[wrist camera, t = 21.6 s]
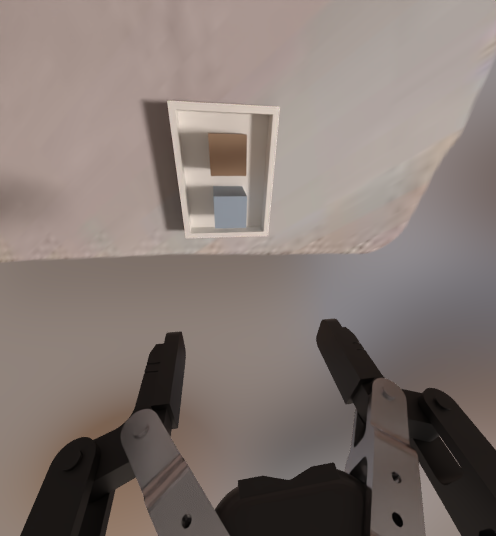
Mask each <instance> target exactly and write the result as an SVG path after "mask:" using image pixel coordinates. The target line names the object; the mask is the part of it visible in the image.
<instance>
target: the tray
mask: <svg viewBox="0 0 496 536" xmlns="http://www.w3.org/2000/svg"><path fill="white" fill-rule="evenodd" d="M167 104H168V112H169V119H170V126H171V134H172V141H173V148H174V156H175V163H176V170H177V178H178V185H179V192H180V200H181V207H182V214H183V221H184V229H185V236H186V238H213V237H248V236H268V230H269V219H270V209H271V198H272V187H273V176H274V166H275V155H276V144H277V133H278V123H279V112H280V107H273V106H255V105H238V104H220V103H202V102H185V101H167ZM208 133H242V134H247V166H246V176H211V172H210V157H209V143H208ZM213 186H242V187H243V189H244V191H245V193H246V195H247V218H246V228H216V229H215V217H214V198H213Z"/></svg>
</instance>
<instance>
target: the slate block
mask: <svg viewBox="0 0 496 536" xmlns="http://www.w3.org/2000/svg"><path fill="white" fill-rule="evenodd" d="M213 198H214V217H215V229H216V228H246V218H247V195H246V193H245V191H244V189H243V187H242V186H213Z"/></svg>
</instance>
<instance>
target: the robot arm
mask: <svg viewBox="0 0 496 536" xmlns="http://www.w3.org/2000/svg"><path fill="white" fill-rule="evenodd" d="M316 341H317V345H318V348H319V350H320V352H321V354H322V356H323V358H324V360H325V363H326V364H327V367H328V369H329V371H330V373H331V375H332V377H333V379H334V381H335V383H336V385H337V387H338V389H339V391H340V393H341V395H342V398H343V400H344V402H345V404H351V403H354V405H355V407H356V410H355V415H354V423H353V432H352V440H351V448H350V453H349V455H348V458H347V461H346V466H345V472H343V471H341V470H338V469H336V467H335V464H334V463H328V464H323V465H318V466H313V467H310V468H309V469H307V470H305V471H304V472H302V473H301V474H299V475H298V476H296V477H294V478H293V479H291V480H284V479H278V478H272V477H267V476H260V477H254V478H249V479H243V480H238V487H236V488H235V489H233V490H232V491H231V492H229V493H228V494H227V495H226V496H225V497H224V498H223V499H222V500H221V502H220V503H219V504H218V506H217V507H216V509H215V510H214V508H213V507H212V505H211V503H210V501H209V500H208V498H207V496H206V495H205V493H204V491H203V489H202V488H201V486H200V484H199V483H198V481H197V479H196V478H195V476H194V474H193V473H192V471H191V469H190V468H189V466H188V464H187V463H186V461H185V460H184V458H183V457H182V456H181V454H180V453H179V451H178V449H177V448H176V446H175V444H174V442H173V441H172V439H171V430H172V429H176V428H178V423H179V414H180V405H181V395H182V386H183V378H184V369H185V358H186V357H185V356H186V352H185V345H184V340H183V336H182V332H170V333H167V334H166V337H165V342H164V344H156V345H155V347H154V348H153V350H152V351H151V352H150V354H149V358H148V362H147V366H146V369H145V374H144V376H143V380H142V384H141V388H140V391H139V395H138V398H137V402H136V406H135V409H134V411H133V413H132V414H131V416H130V417H129V419H128V420H127V421H126V422H125V423H124V424H123V425H121V426H120V427H119V428H117V429H115V430H113V431H111V432H109V433H107V434H105V435H103V436H101V437H99V438H97V439H94V440H92V439H91V438H88V437H81V438H78V439H76V440H73V441H72V442H70V443H69V444H67V445H66V446H65V447H64V448H62V449H61V450H60V452H59V453H58V454H57V455H56V457H55V458H54V460H53V461H52V463H51V465H50V467H49V470H48V472H47V474H46V477H45V479H44V481H43V484H42V486H41V488H40V491H39V493H38V496H37V498H36V500H35V503H34V505H33V507H32V509H31V512H30V514H29V516H28V519H27V521H26V524H25V526H24V528H23V531H22V533H21V535H20V536H105V534H106V530H107V524H108V520H109V516H110V511H111V506H112V502H113V498H114V493H115V489H117V488H118V487H120V486H122V485H123V484H125V483H127V482H129V481H130V480H132V479H134V478H135V477H136V479H137V481H138V483H139V486H140V488H141V490H142V493H143V496H144V501H145V505H146V508H147V510H148V513H149V515H150V517H151V520H152V522H153V524H154V527H155V529H156V532H157V534H158V536H426V535H425V526H424V525H425V524H424V515H423V503H422V492H421V482H420V472H419V463H420V464H421V466H422V468H423V470H424V471H425V473H426V475H427V477H428V478H429V480H430V482H431V484H432V485H433V487H434V489H435V491H436V492H437V494H438V496H439V497H440V499H441V501H442V503H443V504H444V506H445V508H446V510H447V511H448V513H449V515H450V516H451V518H452V520H453V522H454V524H455V525H456V527H457V529H458V531H459V532H460V534H461V536H496V450H495V449H494V448H493V446H492V445H491V444H490V443H489V442H488V440H487V439H486V438H485V437H484V436H483V434H482V433H481V432H480V431H479V430H478V428H477V427H476V426H475V425H474V424H473V422H472V421H471V420H470V419H469V418H468V416H467V415H466V414H465V413H464V412H463V410H462V409H461V408H460V407H459V406H458V405H457V403H456V402H455V401H454V400H453V399H452V398H451V397H450V396H448V395H447V394H446V393H444V392H442V391H440V390H438V389H435V388H427V389H426V390H425V391H424V392H423V393H418V392H413V391H408V390H403V389H401V388H400V387H399V386H398V385H397V384H395V383H394V382H392V381H390V380H388V379H385V378H384V377H383V375H382V374H381V373H380V371H379V370H378V368H377V367H376V365H375V364H374V362H373V361H372V360H371V358H370V357H369V355H368V354H367V352H366V351H365V350H364V348H363V347H362V345H361V344H360V343H359V341H358V339H357V338H356V336H355V335H354V334H353V333H352V332H351V331H350V330H349V329H347V328H346V327H342V326H341V325H340V323H339V322H338V320H337V319H325V320H322V321H321V324H320V327H319V330H318V333H317V337H316ZM439 436H440V437H441V438H442V440H443V441H444V443H445V444H446V446H447V447H448V448H449V450H450V451H451V453H452V454H453V456H454V457H455V459H456V460H457V462H458V463H459V464H458V463H457V462H456V460H455V459H454V457H453V456H452V454H451V453H450V451H449V450H448V448H447V447H446V446H445V444H444V443H443V441H442V440H441V438H440V437H439ZM459 465H460V466H459Z"/></svg>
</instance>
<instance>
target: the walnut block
mask: <svg viewBox="0 0 496 536" xmlns="http://www.w3.org/2000/svg"><path fill="white" fill-rule="evenodd" d="M208 143H209V157H210V172H211V176H246V166H247V134H242V133H208Z"/></svg>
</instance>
